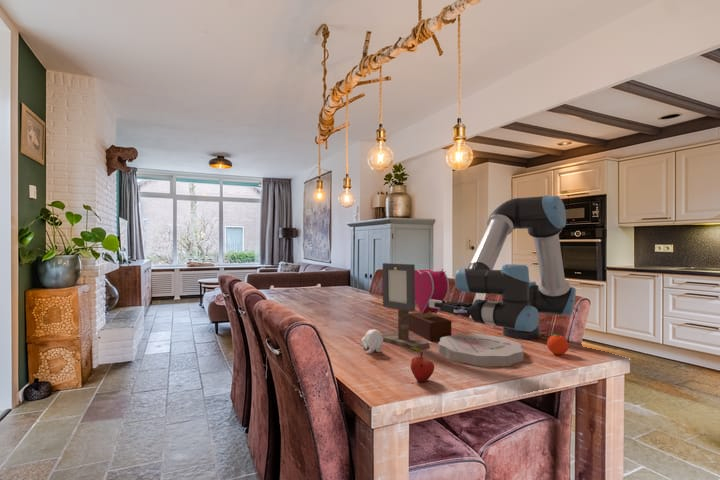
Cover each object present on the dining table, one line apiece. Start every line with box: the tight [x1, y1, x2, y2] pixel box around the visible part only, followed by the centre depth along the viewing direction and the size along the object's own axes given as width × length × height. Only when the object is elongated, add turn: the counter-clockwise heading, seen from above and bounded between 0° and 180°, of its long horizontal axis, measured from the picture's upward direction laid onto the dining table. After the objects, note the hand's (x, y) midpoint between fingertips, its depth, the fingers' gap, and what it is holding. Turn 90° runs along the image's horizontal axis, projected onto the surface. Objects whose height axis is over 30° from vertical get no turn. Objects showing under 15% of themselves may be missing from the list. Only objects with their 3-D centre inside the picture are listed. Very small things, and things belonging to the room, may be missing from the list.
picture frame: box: [382, 262, 416, 313], centre depth 152 cm, size 16×3×18 cm, turn 40°
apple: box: [408, 347, 435, 383], centre depth 111 cm, size 8×7×10 cm
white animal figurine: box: [360, 329, 384, 355], centre depth 142 cm, size 6×8×12 cm
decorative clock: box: [409, 268, 453, 342], centre depth 166 cm, size 25×10×30 cm, turn 17°
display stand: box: [381, 309, 430, 351], centre depth 153 cm, size 22×8×32 cm, turn 40°
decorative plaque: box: [437, 333, 524, 367], centre depth 139 cm, size 30×4×30 cm
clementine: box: [546, 334, 569, 356], centre depth 138 cm, size 8×7×7 cm
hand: (430, 303), depth 139 cm, fingers closed
